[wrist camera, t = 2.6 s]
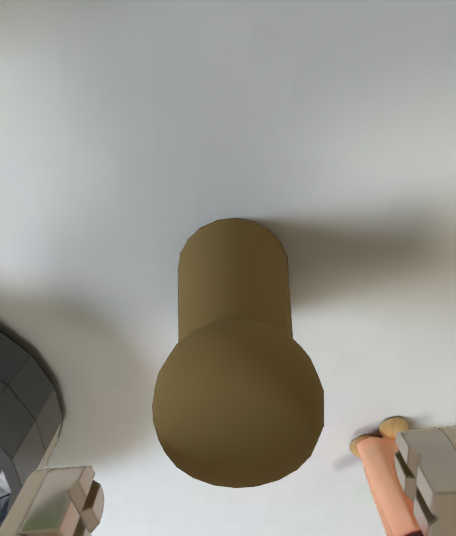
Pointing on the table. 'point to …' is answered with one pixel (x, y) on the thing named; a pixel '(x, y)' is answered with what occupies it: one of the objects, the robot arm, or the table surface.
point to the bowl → (23, 420)
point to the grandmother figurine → (387, 478)
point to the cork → (236, 364)
